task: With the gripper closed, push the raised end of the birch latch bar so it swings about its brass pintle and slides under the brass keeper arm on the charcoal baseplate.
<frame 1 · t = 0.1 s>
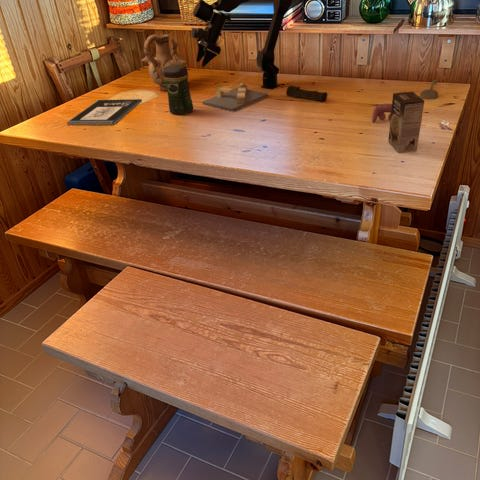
hand: (199, 63, 195), 15 cm above the table, tool tilted 35°, fingers open, 9 cm apart
toy animal: (386, 121, 166), on the table
sketchbook: (106, 114, 201), on the table
birch latch bar: (241, 93, 198), point 2 cm above the table, hinge at 40.0°
ceramic vessel: (171, 88, 222), on the table
keeper baseplate: (235, 100, 199), on the table
hand tool: (304, 100, 193), on the table
coffee jar: (181, 112, 192), on the table
soupspoon: (431, 92, 188), on the table
coffee box: (402, 147, 147), on the table
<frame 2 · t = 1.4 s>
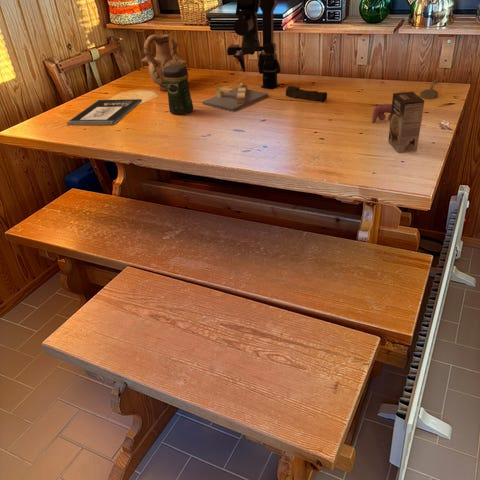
hand: (253, 71, 185), 13 cm above the table, tool pointing down, fingers open, 7 cm apart
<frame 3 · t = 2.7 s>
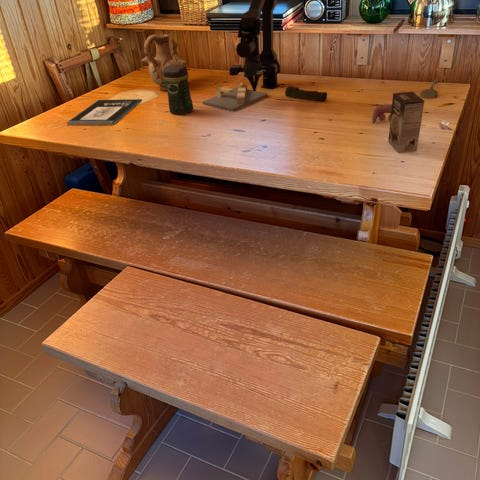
hand: (254, 90, 190), 5 cm above the table, tool pointing down, fingers closed
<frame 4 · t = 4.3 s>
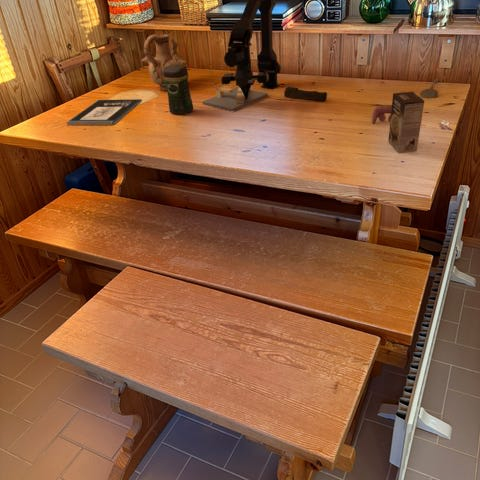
hand: (246, 99, 192), 2 cm above the table, tool pointing down, fingers closed
birch latch bar: (241, 93, 198), point 2 cm above the table, hinge at 39.2°, touching gripper
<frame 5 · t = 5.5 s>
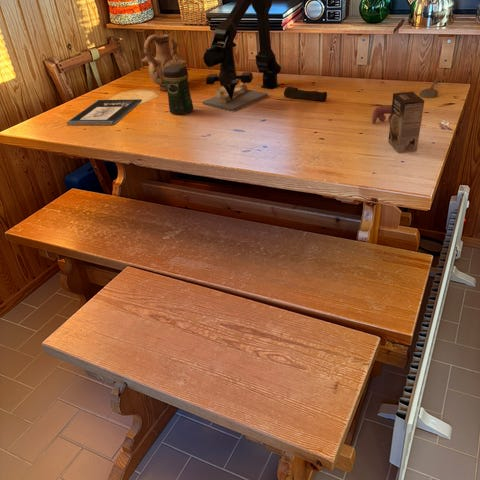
hand: (231, 99, 194), 2 cm above the table, tool pointing down, fingers closed
birch latch bar: (234, 93, 199), point 2 cm above the table, hinge at 10.8°, touching gripper
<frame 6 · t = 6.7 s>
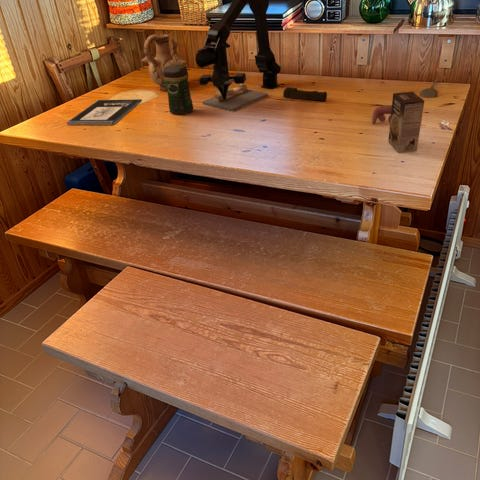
hand: (224, 99, 195), 2 cm above the table, tool pointing down, fingers closed
birch latch bar: (231, 92, 200), point 2 cm above the table, hinge at -2.1°, touching gripper
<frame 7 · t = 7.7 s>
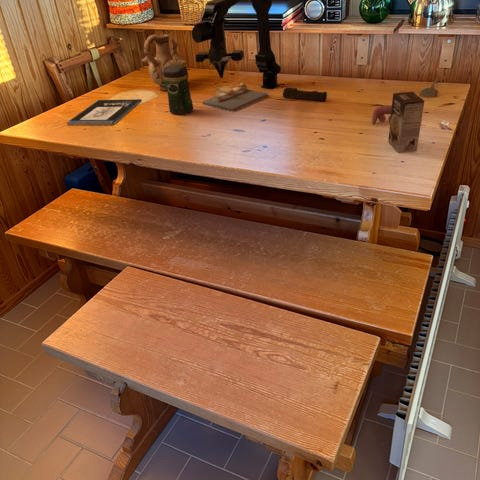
hand: (221, 78, 189), 11 cm above the table, tool pointing down, fingers closed
birch latch bar: (231, 92, 200), point 2 cm above the table, hinge at -2.5°
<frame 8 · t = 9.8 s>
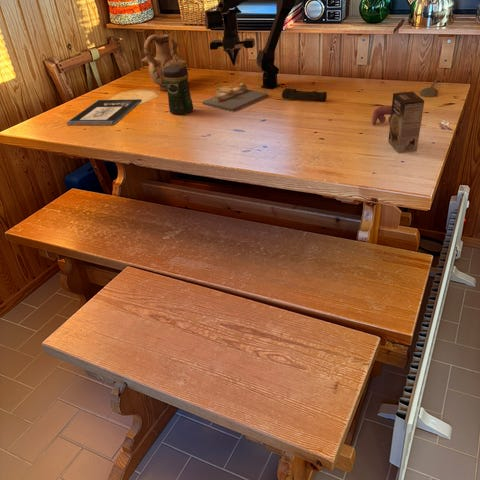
hand: (234, 64, 200), 12 cm above the table, tool pointing down, fingers closed
at the end: birch latch bar at -2° (first picture: +40°); hand tool moved 1.9 cm from its start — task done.
